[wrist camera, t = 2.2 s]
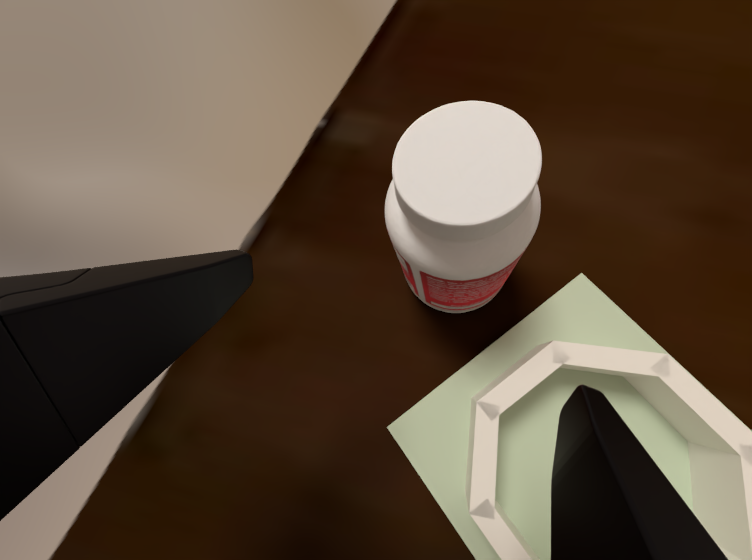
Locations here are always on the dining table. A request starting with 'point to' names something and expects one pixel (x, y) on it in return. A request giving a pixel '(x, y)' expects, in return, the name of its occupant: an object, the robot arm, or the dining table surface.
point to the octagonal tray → (540, 425)
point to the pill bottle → (463, 202)
